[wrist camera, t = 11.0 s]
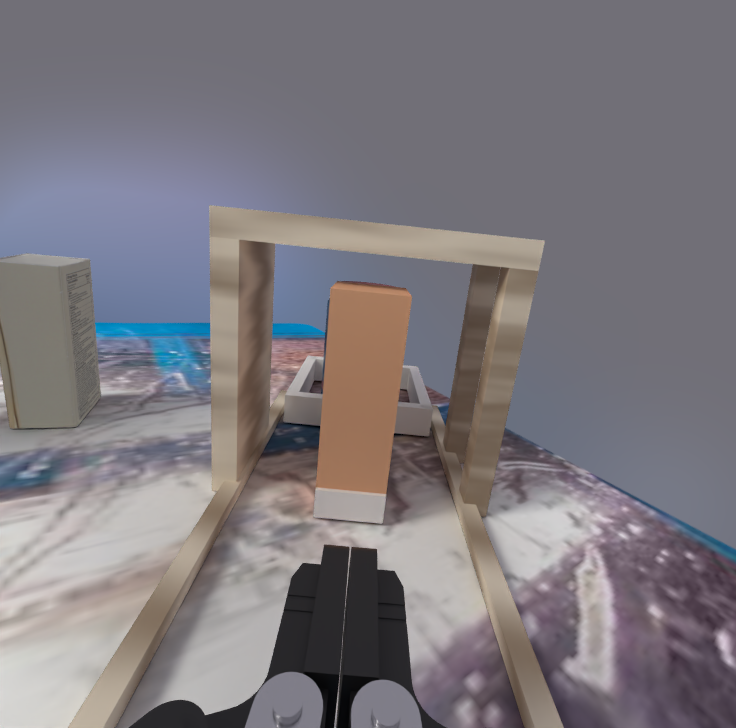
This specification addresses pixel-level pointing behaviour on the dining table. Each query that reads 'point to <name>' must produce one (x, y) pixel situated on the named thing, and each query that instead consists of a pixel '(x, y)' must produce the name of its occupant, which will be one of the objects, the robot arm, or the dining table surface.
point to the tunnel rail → (257, 422)
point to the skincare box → (47, 340)
